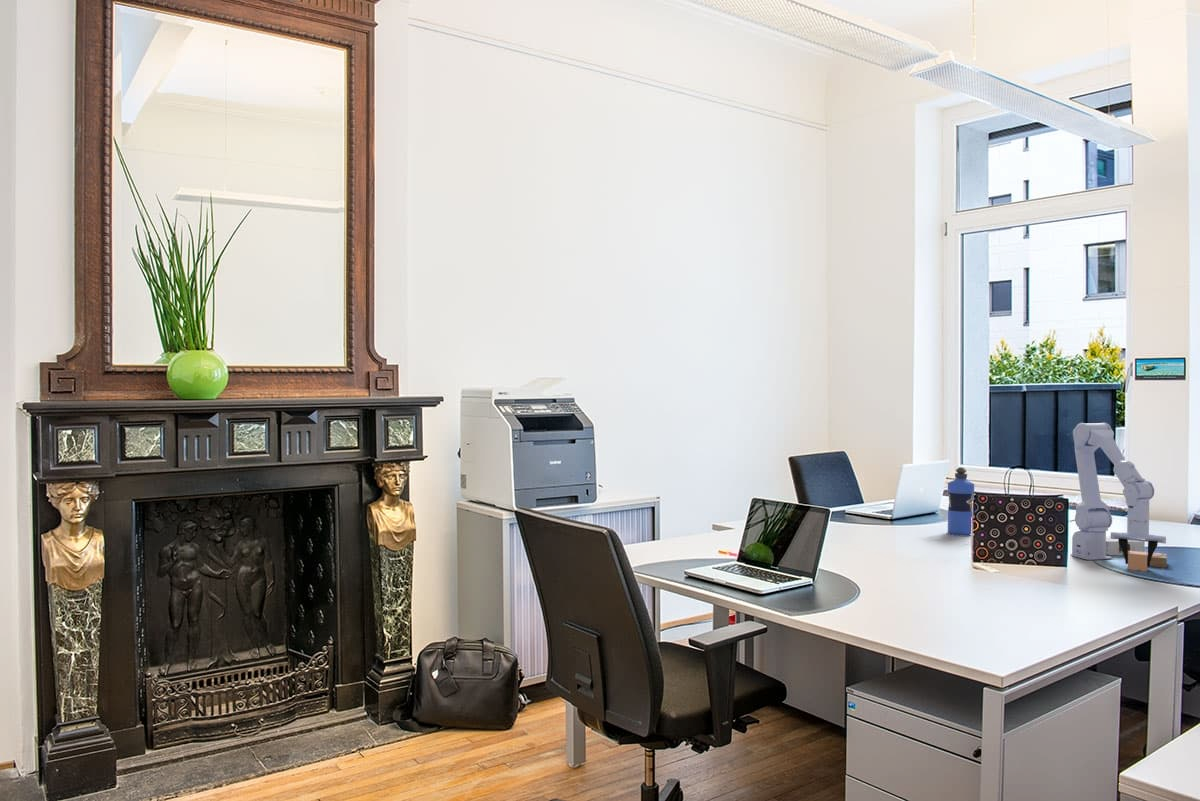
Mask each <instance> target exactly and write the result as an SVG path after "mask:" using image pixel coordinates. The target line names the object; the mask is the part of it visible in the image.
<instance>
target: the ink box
mask: <svg viewBox="0 0 1200 801" xmlns="http://www.w3.org/2000/svg"><path fill="white" fill-rule="evenodd" d="M1131 539H1135V538H1131ZM1118 540H1119V539H1111V536H1106V556H1124V554H1123V551H1122V549H1121V547H1120V545H1119V542H1118ZM1145 547H1146V545H1145V541H1133V540H1128V551H1140V552H1146V551H1145V550H1146V549H1145Z"/></svg>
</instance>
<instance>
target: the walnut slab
mask: <svg viewBox="0 0 1200 801" xmlns="http://www.w3.org/2000/svg"><path fill="white" fill-rule="evenodd" d="M1137 552H1140V551H1137ZM1146 552H1147V558H1148V551H1146ZM1167 561H1168V558H1167V553H1161V552H1154V553H1153V555H1152V558H1151V561H1150V566H1149V567H1152V566H1153V568H1154V567H1155V568H1164V569H1165V568H1167V566H1168V565H1167V564H1168V563H1167Z"/></svg>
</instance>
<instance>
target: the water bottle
mask: <svg viewBox="0 0 1200 801" xmlns="http://www.w3.org/2000/svg"><path fill="white" fill-rule="evenodd" d="M967 477H968V474H967V469H966V468H965V467H958V468H957V469H955V473H954V479H953V480H951V481H949V482H947V494H948V509H947V534H948V533H950V534H949V535H952V534H954V536H960V535H969V536H971V535H970V534H971V517H972V504H973V503H972V501H973V502H974V495H975V494H974V493H975V483H973V482H971V481H969V480H968V479H967ZM969 536H968V537H969Z"/></svg>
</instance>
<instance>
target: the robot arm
mask: <svg viewBox="0 0 1200 801" xmlns="http://www.w3.org/2000/svg"><path fill="white" fill-rule="evenodd" d="M1114 432H1115V431H1113V429H1112V427H1111V425H1110V424H1109V423H1107V422H1099V423H1098V422H1095V423H1094V422H1093V423H1091V422H1090V423H1084V422H1080V423H1078V424H1076V426H1075V427H1074V428H1073V430H1072V437H1073V442H1074V454H1075V462H1076V467H1077V468H1076V469H1077V476H1078V480H1079V481H1078V482H1079V490H1080V497H1081V502H1079V504H1077V505H1076V506H1075V515H1074V521H1075V525H1076V527H1078V530H1079V531H1075V532H1073V534H1072V537H1071V538H1072V539H1071V540H1072V541H1071V544H1072V545H1071V553H1070V554H1069V555H1070V556H1072V557H1075V558H1078V559H1081V560H1082V559H1083V560H1087V561H1093V560H1094V561H1095V560H1096V561H1097V560H1110V559H1113V557H1112V556H1110V555H1107V554H1106V537H1107V532H1108V531H1109V528H1111V526H1112V524H1113V516H1112V514H1111V512H1110V510H1109V505H1108V504H1107V503H1105V501H1103V500H1102V498H1101V493H1100V486H1099V485H1100V484H1099V478H1098V472H1097V465H1096V458H1095V452H1096V450H1098V449H1099V448H1100V449H1101V450H1102V451H1103V453H1104V454H1105V455H1106V457H1107V458H1108V459H1109V460H1110V462H1111V463H1112V464H1113V465H1114V466H1113V470H1112V471H1113V473H1114V474H1115V475H1116V477H1117V478H1118V480H1119V482H1120V484H1121V485H1122V486H1123V489H1122V495H1123V496H1124V498H1125V504H1126V505H1127V514H1126V515H1127V517H1126V518H1127V520H1126V521H1127V522H1126V529H1127V530H1126V532H1120V531H1119V532H1118V531H1117V532H1116V531H1115V532H1114V531H1111V532H1110V537H1111V539H1119V540H1118V542H1119V545H1120V547H1121V549H1122V551H1123V554H1124V555H1123V557H1124V561H1125V563H1124V564H1125V565H1128V540H1133V541H1144V542H1146V543H1147V552H1148V558H1147V567H1151V566H1150V561H1151V558H1152V555H1153V553H1155V551H1156V549H1157V547H1158V543H1159V544H1164V545H1165V544H1166V543H1167V537H1166V536H1165V535H1156V534H1150V500H1152V499H1153V497H1154V495H1155V488H1154V486H1153V483H1152V482H1150V481H1149V480H1146V479H1145V478H1143V476H1142V475H1141V474H1140V472H1139V471H1138V470H1137V468H1136V467H1135V466H1136V465H1135V464H1134V463H1133V462H1132V461H1130V460H1129V461H1128V460H1126V458H1125V457H1124V456H1123V454H1122V452H1121V450H1120V448H1119V445H1118V444H1117V442H1116V441H1115V439H1114V437H1115V436H1114V435H1115V433H1114ZM1131 538H1135V539H1131Z"/></svg>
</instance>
